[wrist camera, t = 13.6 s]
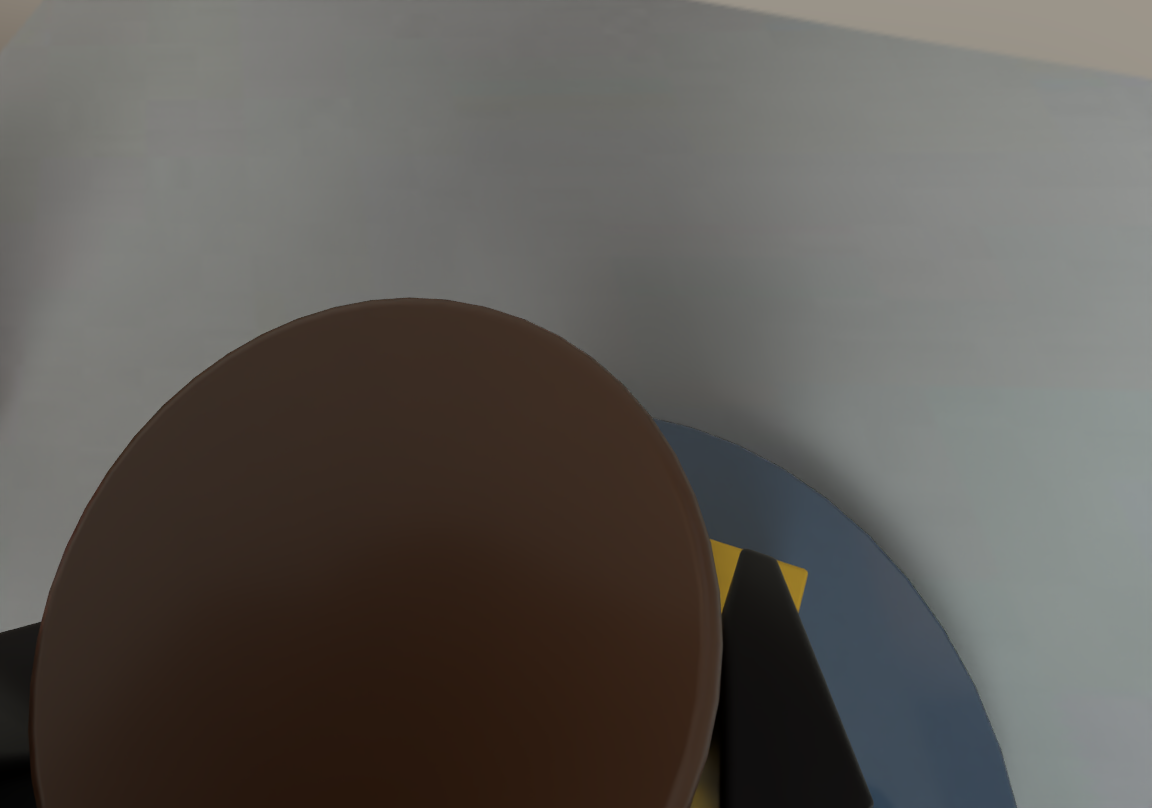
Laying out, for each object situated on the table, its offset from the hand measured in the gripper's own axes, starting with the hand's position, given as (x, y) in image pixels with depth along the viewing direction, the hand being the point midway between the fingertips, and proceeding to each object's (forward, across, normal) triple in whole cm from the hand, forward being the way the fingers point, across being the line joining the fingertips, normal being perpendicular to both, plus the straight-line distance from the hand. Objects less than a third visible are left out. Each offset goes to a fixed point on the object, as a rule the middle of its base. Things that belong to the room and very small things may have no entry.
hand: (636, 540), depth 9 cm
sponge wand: (+4, 0, +6) cm, 8 cm away
